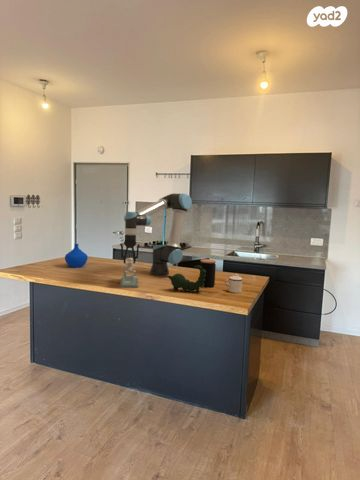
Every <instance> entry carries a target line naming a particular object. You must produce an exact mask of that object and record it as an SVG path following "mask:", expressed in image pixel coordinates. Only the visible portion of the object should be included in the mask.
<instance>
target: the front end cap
mask: <svg viewBox="0 0 360 480" xmlns="http://www.w3.org/2000/svg"><path fill="white" fill-rule="evenodd" d="M122 278H123V279H122V285H135V281H136V278H137V275H136V276H133V281H125V276H124V275H123V276H122Z"/></svg>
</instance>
